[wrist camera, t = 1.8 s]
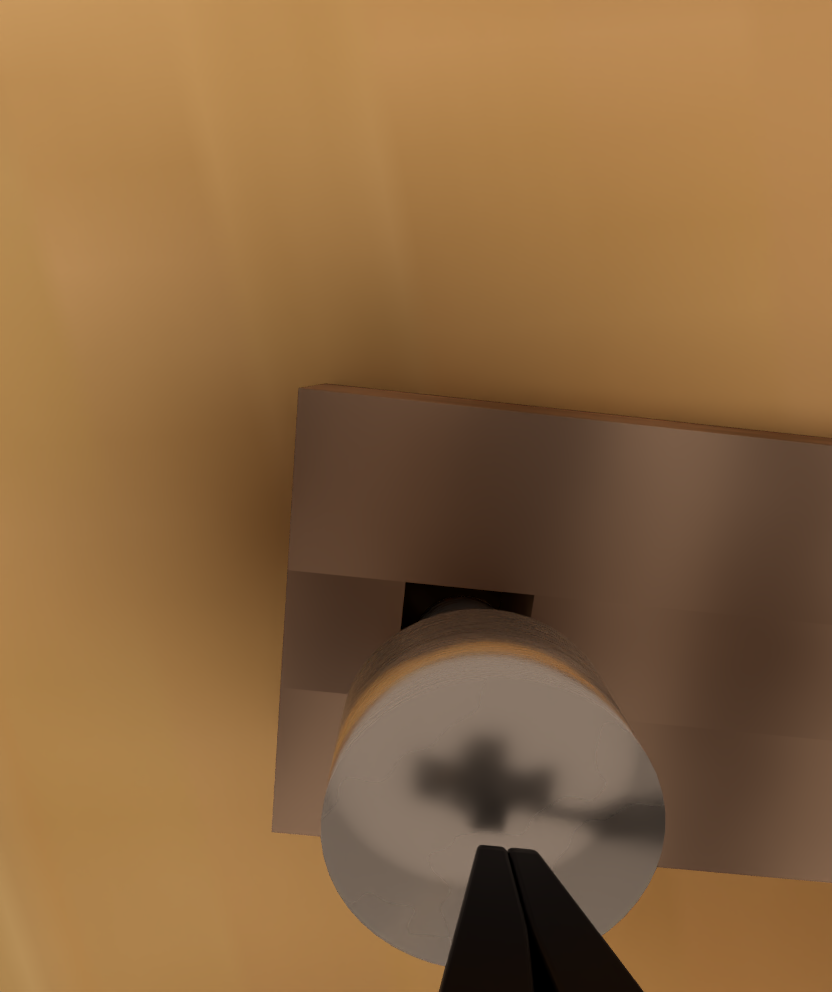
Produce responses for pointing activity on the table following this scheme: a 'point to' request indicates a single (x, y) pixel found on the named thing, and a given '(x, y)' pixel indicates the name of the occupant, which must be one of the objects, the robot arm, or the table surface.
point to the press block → (584, 593)
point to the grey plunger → (483, 775)
